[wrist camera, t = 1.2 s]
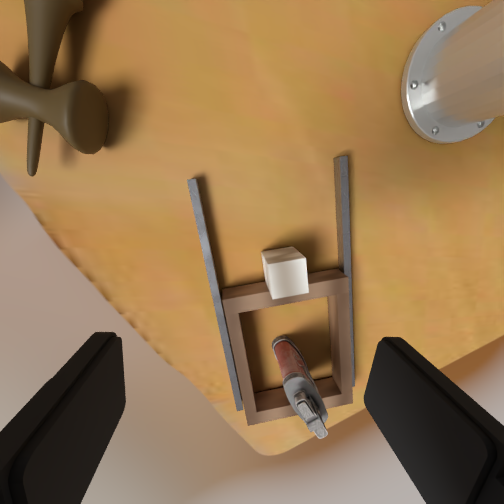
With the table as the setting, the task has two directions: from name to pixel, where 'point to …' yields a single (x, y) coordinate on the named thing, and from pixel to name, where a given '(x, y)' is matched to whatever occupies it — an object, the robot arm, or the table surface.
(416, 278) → the table surface
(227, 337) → the guide rails
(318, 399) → the lighter
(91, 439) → the robot arm
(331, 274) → the sliding frame
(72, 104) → the kendama
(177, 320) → the table surface
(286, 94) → the table surface
